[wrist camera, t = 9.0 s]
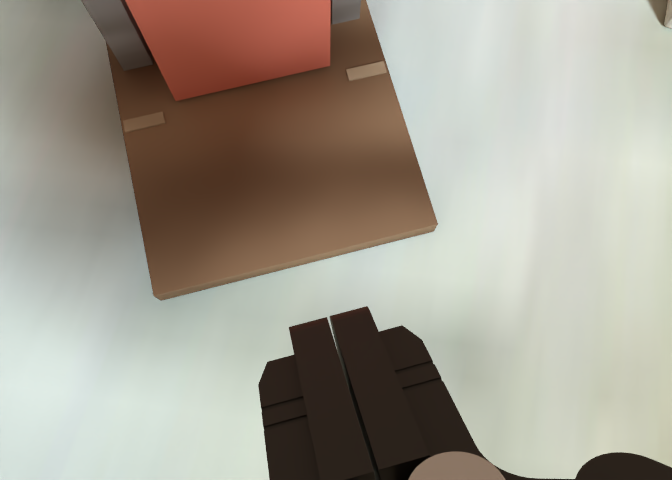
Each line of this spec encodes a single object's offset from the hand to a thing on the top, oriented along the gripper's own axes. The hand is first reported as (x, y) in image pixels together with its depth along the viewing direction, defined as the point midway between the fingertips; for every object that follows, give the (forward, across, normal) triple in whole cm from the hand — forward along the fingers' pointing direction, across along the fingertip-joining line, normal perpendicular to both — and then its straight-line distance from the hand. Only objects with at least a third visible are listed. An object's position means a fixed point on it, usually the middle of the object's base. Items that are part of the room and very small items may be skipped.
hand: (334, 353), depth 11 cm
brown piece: (+18, 0, -1) cm, 18 cm away
